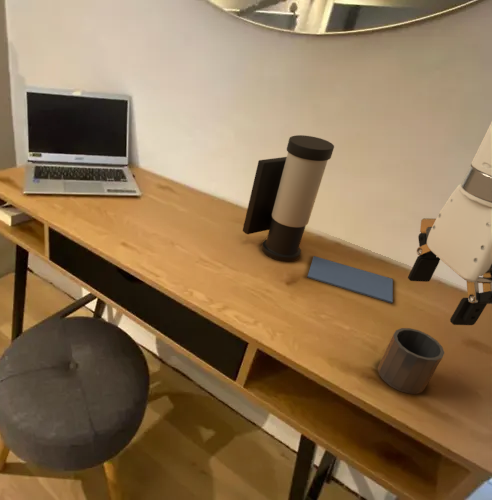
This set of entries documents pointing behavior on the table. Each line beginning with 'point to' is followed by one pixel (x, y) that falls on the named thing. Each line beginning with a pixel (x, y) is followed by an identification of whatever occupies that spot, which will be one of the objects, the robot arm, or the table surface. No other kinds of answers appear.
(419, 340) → the pot
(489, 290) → the robot arm
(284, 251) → the light fixture
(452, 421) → the table surface
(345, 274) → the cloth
